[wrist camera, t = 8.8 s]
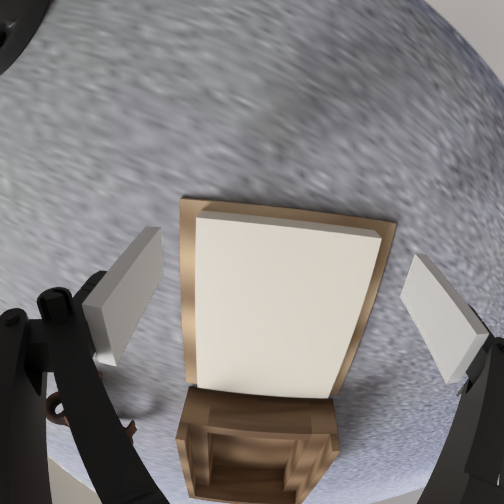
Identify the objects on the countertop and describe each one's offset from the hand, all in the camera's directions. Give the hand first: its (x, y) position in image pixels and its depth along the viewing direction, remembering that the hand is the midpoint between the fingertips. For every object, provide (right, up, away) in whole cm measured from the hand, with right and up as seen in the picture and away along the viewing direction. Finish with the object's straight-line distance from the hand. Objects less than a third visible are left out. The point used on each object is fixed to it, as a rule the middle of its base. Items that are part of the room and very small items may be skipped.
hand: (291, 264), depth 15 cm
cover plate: (0, -4, +9) cm, 10 cm away
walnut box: (-2, -22, +17) cm, 28 cm away
